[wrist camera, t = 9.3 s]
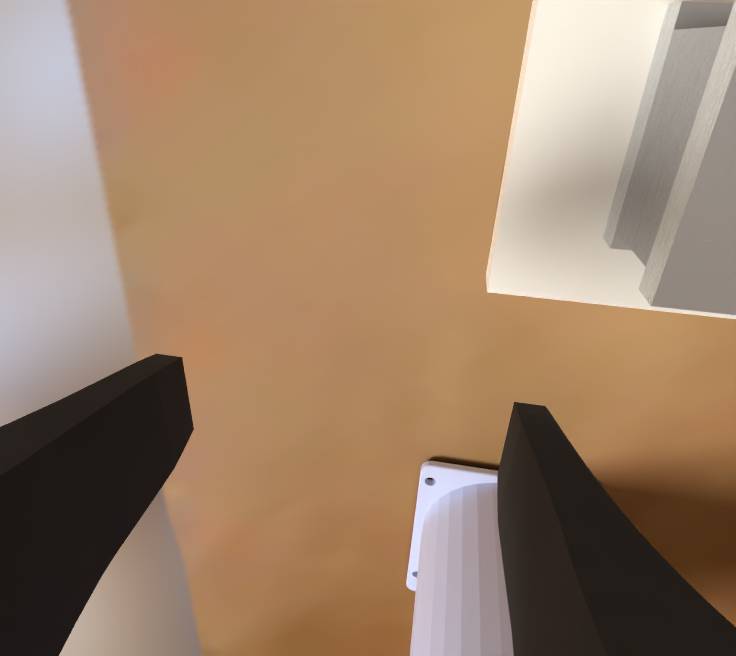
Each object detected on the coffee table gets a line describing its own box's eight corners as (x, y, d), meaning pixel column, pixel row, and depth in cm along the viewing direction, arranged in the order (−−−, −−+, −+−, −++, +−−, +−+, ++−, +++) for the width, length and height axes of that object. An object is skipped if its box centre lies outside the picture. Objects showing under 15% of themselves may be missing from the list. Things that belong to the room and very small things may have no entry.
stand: (801, 308, 18) (827, 328, 17) (485, 275, 19) (487, 291, 18) (1008, -88, 13) (1069, -102, 11) (548, -95, 14) (557, -109, 13)
